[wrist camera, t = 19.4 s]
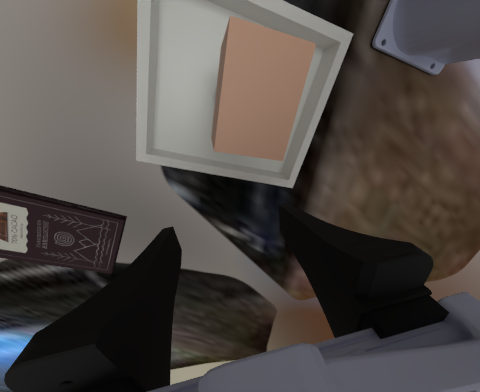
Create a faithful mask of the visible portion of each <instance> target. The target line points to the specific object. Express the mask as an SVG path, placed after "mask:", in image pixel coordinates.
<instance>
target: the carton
mask: <svg viewBox="0 0 480 392" xmlns="http://www.w3.org/2000/svg"><path fill="white" fill-rule="evenodd" d="M315 47H316V43H313V42H310V41H307V40H304V39H301V38H298V37H295V36H292V35H289V34H286V33H283V32H279V31H276V30H273V29H270V28H267V27H264V26H261V25H258V24H255V23H252V22H249V21H246V20H243V19H240V18H236V17H233V16H230V18H229V21H228V24H227V28H226V31H225V35H224V38H223V42H222V45H221V52H220V61H219V70H218V79H217V88H216V98H215V107H214V116H213V125H212V134H211V139H212V144H213V149H214V151H215V152H222V153H229V154H236V155H243V156H250V157H257V158H264V159H271V160H279V161H283V159H284V155H285V152H286V148H287V145H288V141H289V138H290V134H291V131H292V127H293V124H294V120H295V117H296V113H297V110H298V106H299V103H300V99H301V96H302V92H303V89H304V85H305V82H306V78H307V75H308V71H309V68H310V64H311V61H312V57H313V54H314V50H315Z"/></svg>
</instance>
